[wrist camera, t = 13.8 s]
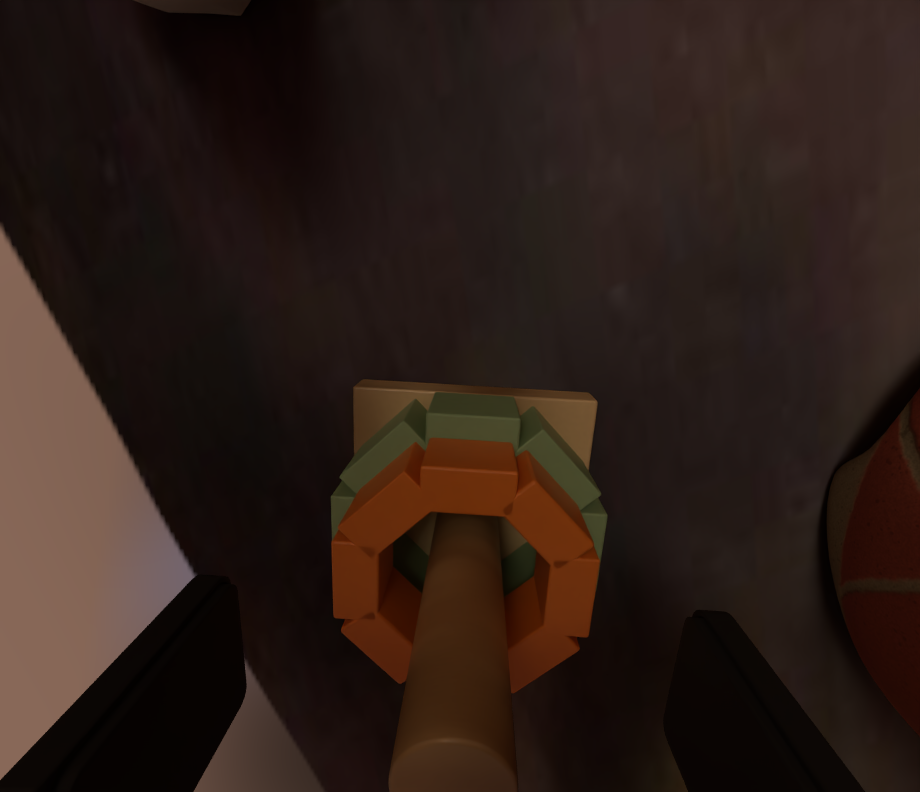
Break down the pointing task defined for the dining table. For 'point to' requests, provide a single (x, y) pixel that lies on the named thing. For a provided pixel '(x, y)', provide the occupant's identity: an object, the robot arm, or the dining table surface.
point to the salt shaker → (199, 6)
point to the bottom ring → (481, 423)
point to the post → (462, 612)
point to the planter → (882, 558)
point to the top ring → (475, 493)
